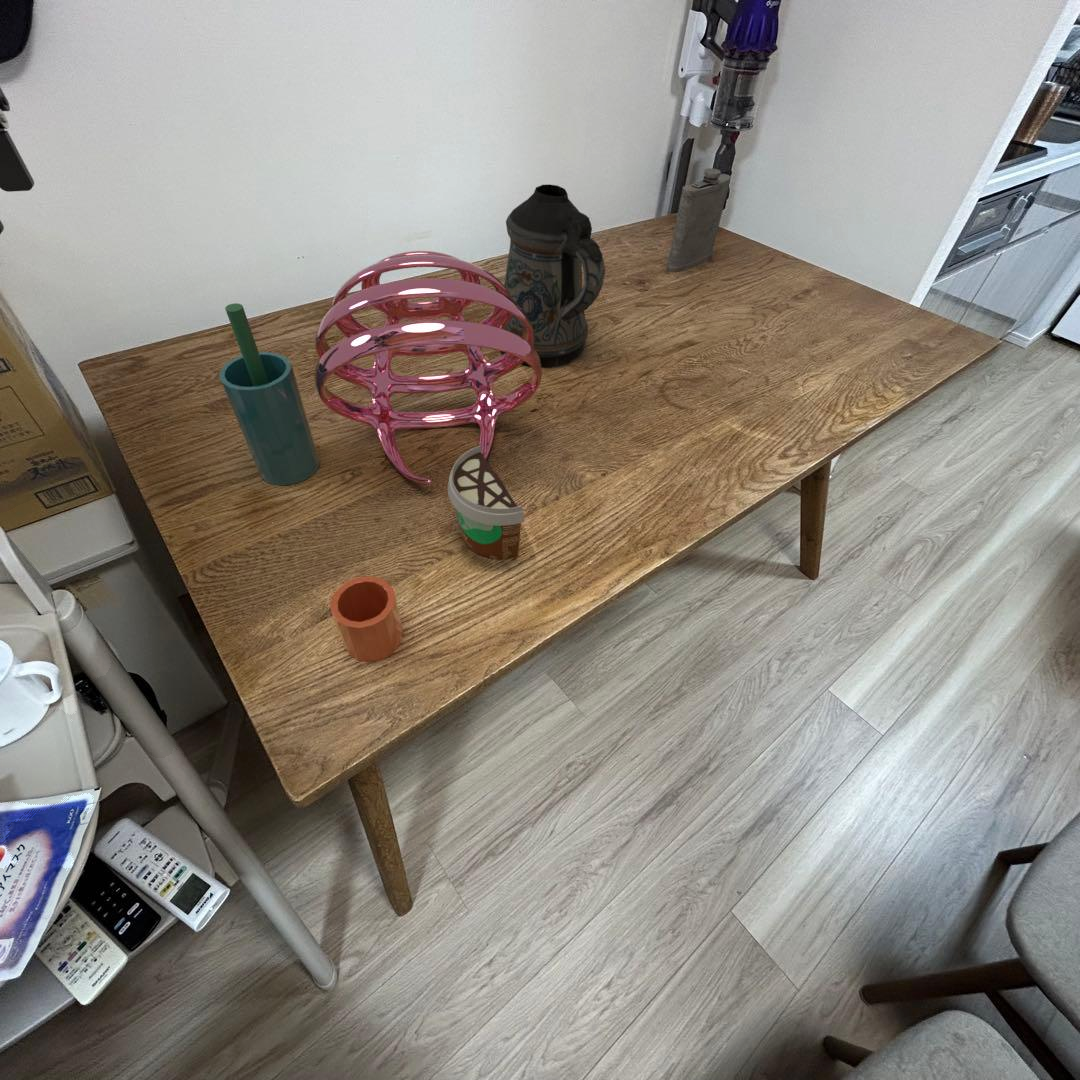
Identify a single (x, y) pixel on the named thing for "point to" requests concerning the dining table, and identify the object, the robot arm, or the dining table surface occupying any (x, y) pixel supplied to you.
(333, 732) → the dining table surface
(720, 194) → the flask
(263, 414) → the teal cylindrical cup
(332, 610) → the cup
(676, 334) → the dining table surface
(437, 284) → the spiral basket
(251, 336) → the bottle brush
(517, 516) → the food container
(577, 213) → the beer stein
